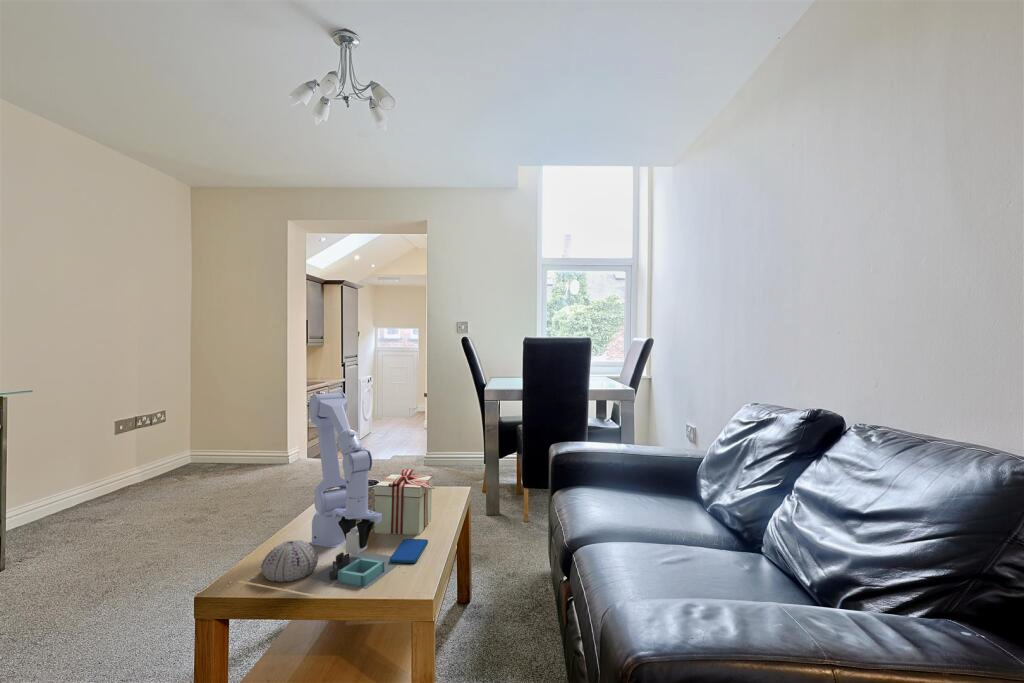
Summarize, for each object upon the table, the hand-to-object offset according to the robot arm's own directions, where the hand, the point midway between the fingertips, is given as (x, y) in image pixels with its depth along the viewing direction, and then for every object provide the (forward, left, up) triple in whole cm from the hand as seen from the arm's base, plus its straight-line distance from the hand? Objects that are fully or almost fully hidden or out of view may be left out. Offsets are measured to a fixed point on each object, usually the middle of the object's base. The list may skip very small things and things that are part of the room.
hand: (356, 546), depth 135 cm
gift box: (0, +27, -4) cm, 27 cm away
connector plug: (0, 0, -1) cm, 1 cm away
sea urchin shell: (-11, -13, -4) cm, 17 cm away
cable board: (+5, -5, -4) cm, 8 cm away
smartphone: (+12, +8, -3) cm, 14 cm away
